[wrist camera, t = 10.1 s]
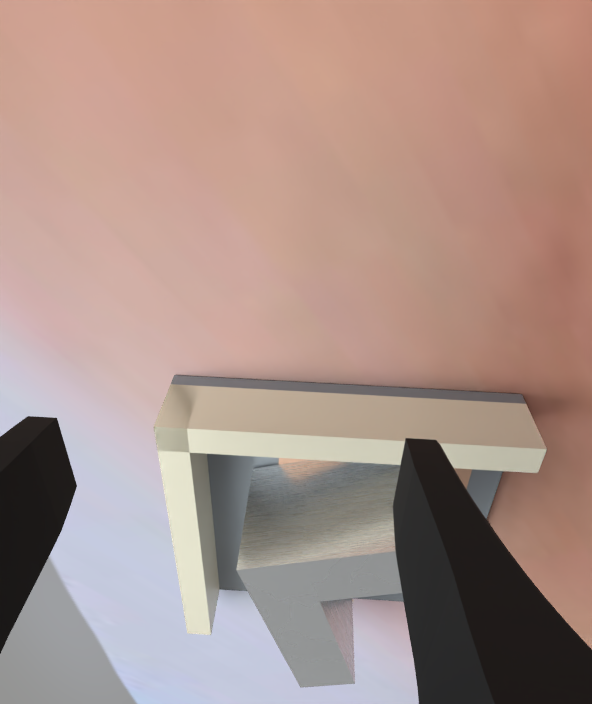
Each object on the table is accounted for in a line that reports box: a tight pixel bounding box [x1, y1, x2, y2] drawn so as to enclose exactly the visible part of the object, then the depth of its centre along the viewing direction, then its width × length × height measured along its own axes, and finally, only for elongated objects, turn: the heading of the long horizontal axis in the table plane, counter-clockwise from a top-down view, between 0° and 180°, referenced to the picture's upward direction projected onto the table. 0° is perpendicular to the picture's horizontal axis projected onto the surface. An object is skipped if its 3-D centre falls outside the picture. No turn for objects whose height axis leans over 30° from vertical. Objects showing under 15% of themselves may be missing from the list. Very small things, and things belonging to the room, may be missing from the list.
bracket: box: [236, 460, 402, 687], centre depth 24 cm, size 9×8×5 cm
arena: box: [154, 375, 547, 635], centre depth 25 cm, size 14×14×3 cm
